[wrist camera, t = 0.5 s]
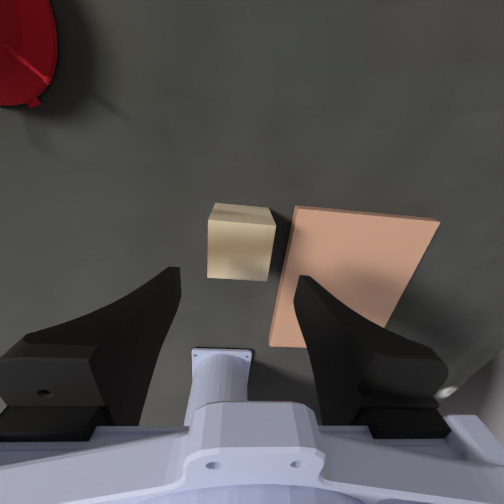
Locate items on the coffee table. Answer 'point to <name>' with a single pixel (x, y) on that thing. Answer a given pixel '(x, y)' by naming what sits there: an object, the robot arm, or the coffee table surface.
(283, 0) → the coffee table surface
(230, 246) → the maple cube
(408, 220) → the terracotta tile
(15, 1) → the alarm clock
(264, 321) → the coffee table surface
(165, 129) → the coffee table surface
